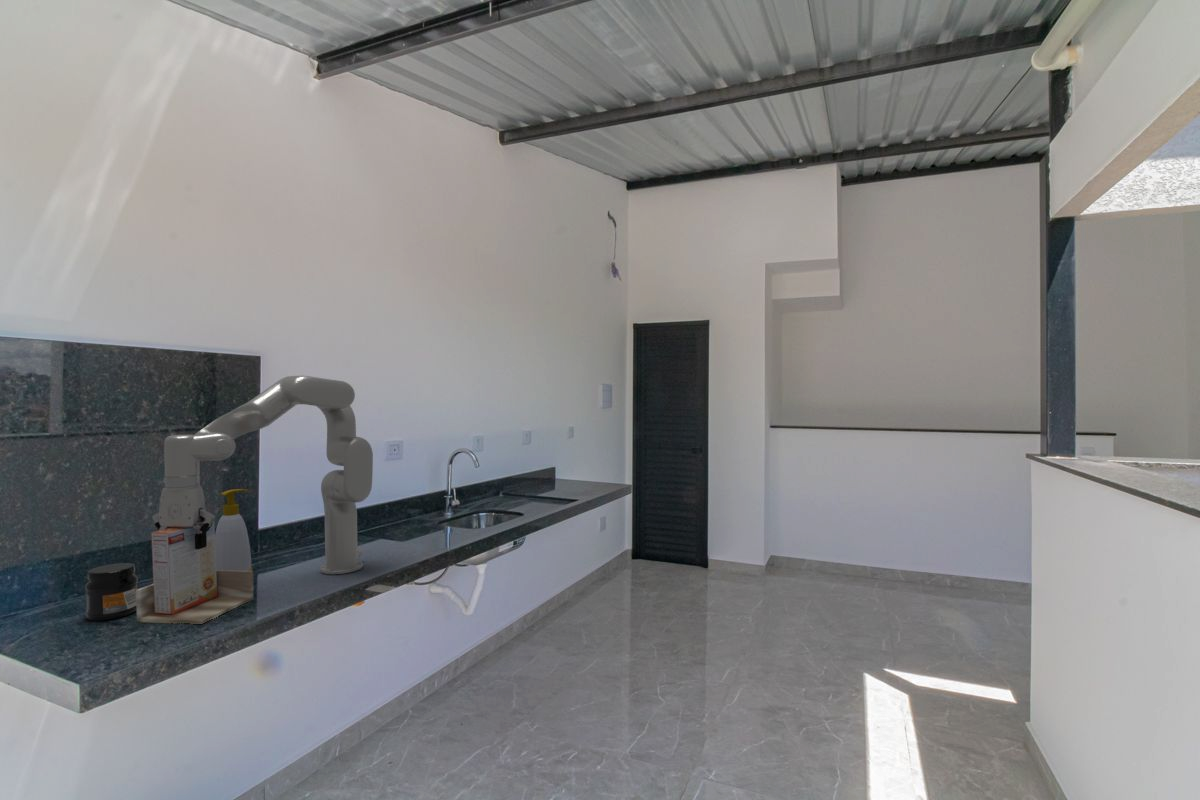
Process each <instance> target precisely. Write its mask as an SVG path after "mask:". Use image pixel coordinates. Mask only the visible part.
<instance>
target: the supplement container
mask: <svg viewBox="0 0 1200 800" xmlns="http://www.w3.org/2000/svg"><path fill="white" fill-rule="evenodd" d="M135 572H136V566H135V564H134V563H129V562H128V563H127V562H123V563H122V562H121V563H112V564H107V565H102V566H97V567H94V568H92V569H89V570H88V572H87V583H86V584H85V594H86V595H85V597H86V599H85V602H86V606H85V607H86V613H85V614H86V615H85V616H86V617H87V619H88V620H91V621H96V622H97V621H98V622H102V621H103V622H104V621H110V620H111V621H112V620H115V619H119V618H124V617H126V616H129V615H132V614H133V613H134V612H137V604H136V590H137V589H138V580H139V577H138V576H137V575H136V574H135Z"/></svg>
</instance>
